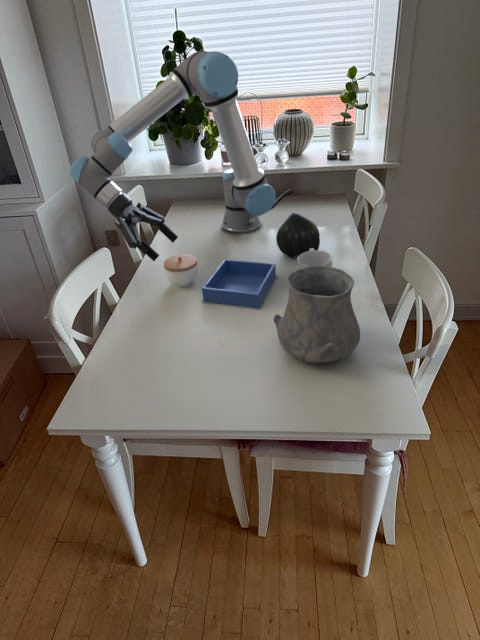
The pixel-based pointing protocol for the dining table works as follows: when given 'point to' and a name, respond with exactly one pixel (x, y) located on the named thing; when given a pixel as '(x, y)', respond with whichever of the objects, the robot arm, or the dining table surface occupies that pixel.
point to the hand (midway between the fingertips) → (166, 248)
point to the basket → (239, 283)
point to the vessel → (318, 315)
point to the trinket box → (181, 269)
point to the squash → (297, 236)
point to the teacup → (314, 259)
